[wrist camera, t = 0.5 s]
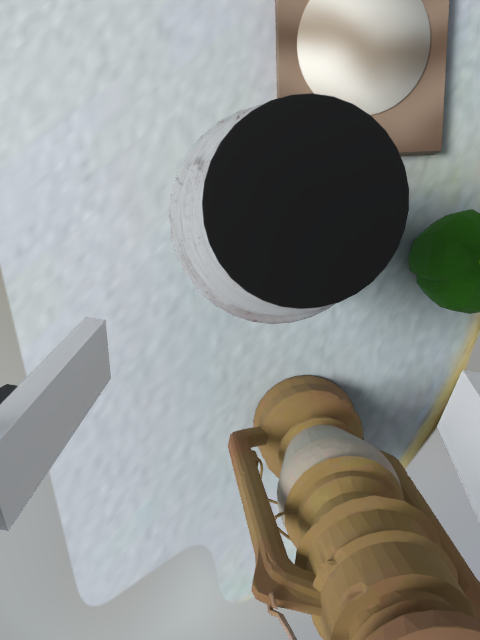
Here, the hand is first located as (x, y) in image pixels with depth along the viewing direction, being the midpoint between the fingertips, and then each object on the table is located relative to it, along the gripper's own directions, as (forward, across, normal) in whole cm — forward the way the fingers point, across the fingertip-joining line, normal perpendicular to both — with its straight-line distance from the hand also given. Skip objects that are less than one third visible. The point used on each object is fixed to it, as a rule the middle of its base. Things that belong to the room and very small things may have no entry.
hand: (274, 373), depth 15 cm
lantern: (+19, +5, -19) cm, 27 cm away
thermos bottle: (+24, -3, -2) cm, 24 cm away
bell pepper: (+26, +15, -3) cm, 30 cm away
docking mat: (+30, +4, +13) cm, 33 cm away
